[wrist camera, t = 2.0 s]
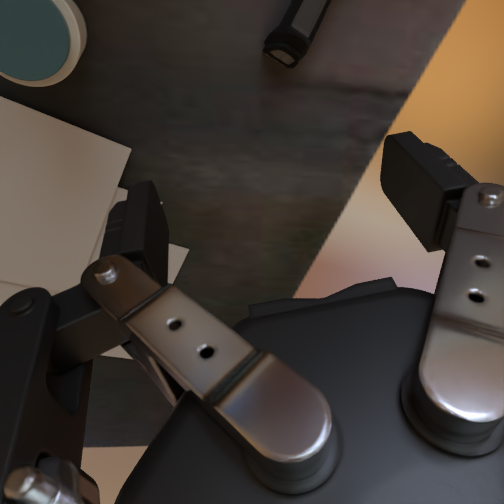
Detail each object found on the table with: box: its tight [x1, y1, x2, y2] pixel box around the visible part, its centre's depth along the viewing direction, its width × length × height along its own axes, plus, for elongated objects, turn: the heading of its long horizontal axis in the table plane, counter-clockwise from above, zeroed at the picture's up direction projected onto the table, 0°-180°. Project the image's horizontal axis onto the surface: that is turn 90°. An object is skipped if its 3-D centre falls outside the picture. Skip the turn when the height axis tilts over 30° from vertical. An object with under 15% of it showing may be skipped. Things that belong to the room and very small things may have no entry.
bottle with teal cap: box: [0, 0, 88, 87], centre depth 24 cm, size 6×6×12 cm
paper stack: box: [0, 96, 189, 359], centre depth 38 cm, size 23×25×1 cm
